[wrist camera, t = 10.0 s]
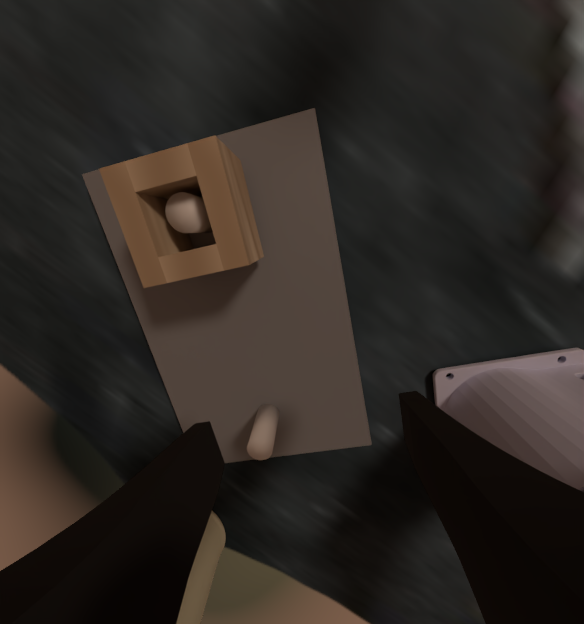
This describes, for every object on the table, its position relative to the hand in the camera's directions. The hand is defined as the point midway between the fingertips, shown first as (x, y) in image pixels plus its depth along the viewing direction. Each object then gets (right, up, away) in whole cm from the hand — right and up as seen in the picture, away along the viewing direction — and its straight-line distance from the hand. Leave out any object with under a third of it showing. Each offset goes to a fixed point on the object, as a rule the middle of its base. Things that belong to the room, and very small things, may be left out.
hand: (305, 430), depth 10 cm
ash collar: (-5, +10, +5) cm, 12 cm away
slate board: (-4, +4, +9) cm, 10 cm away
